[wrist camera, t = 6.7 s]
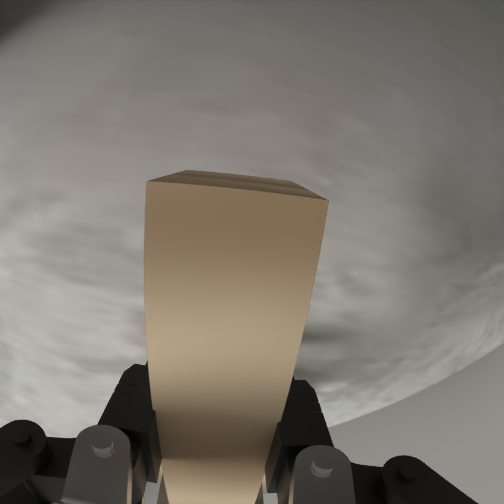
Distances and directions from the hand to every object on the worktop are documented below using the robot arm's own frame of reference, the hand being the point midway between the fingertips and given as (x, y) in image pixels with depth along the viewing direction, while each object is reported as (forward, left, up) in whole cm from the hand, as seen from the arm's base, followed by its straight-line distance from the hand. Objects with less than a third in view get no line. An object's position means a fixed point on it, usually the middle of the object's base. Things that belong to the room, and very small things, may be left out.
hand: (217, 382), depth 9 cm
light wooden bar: (+1, 0, -1) cm, 1 cm away
